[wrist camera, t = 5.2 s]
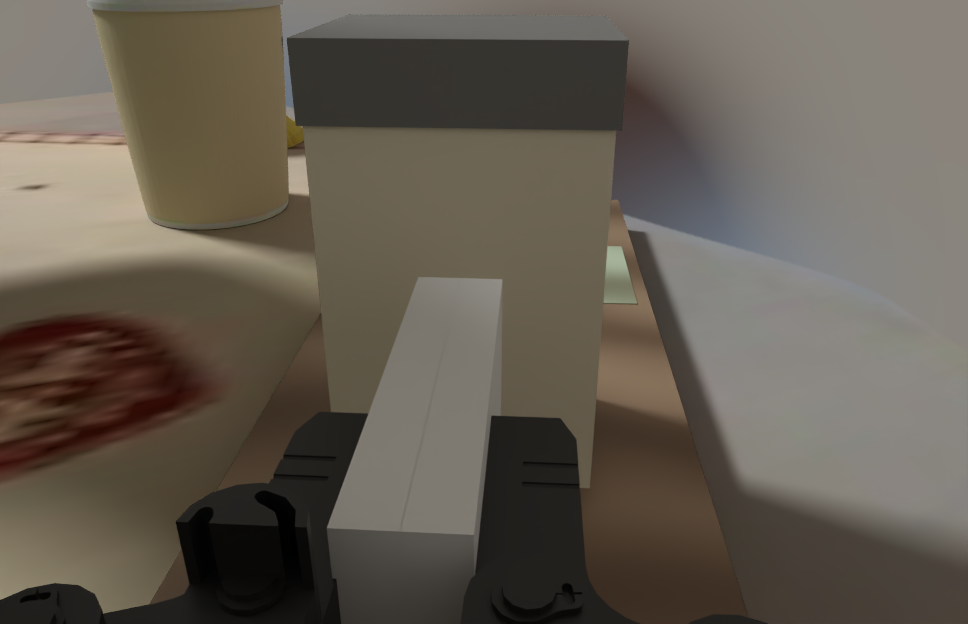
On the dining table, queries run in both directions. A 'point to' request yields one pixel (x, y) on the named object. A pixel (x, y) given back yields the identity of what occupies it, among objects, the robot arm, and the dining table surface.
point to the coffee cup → (200, 106)
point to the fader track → (614, 470)
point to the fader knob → (464, 190)
